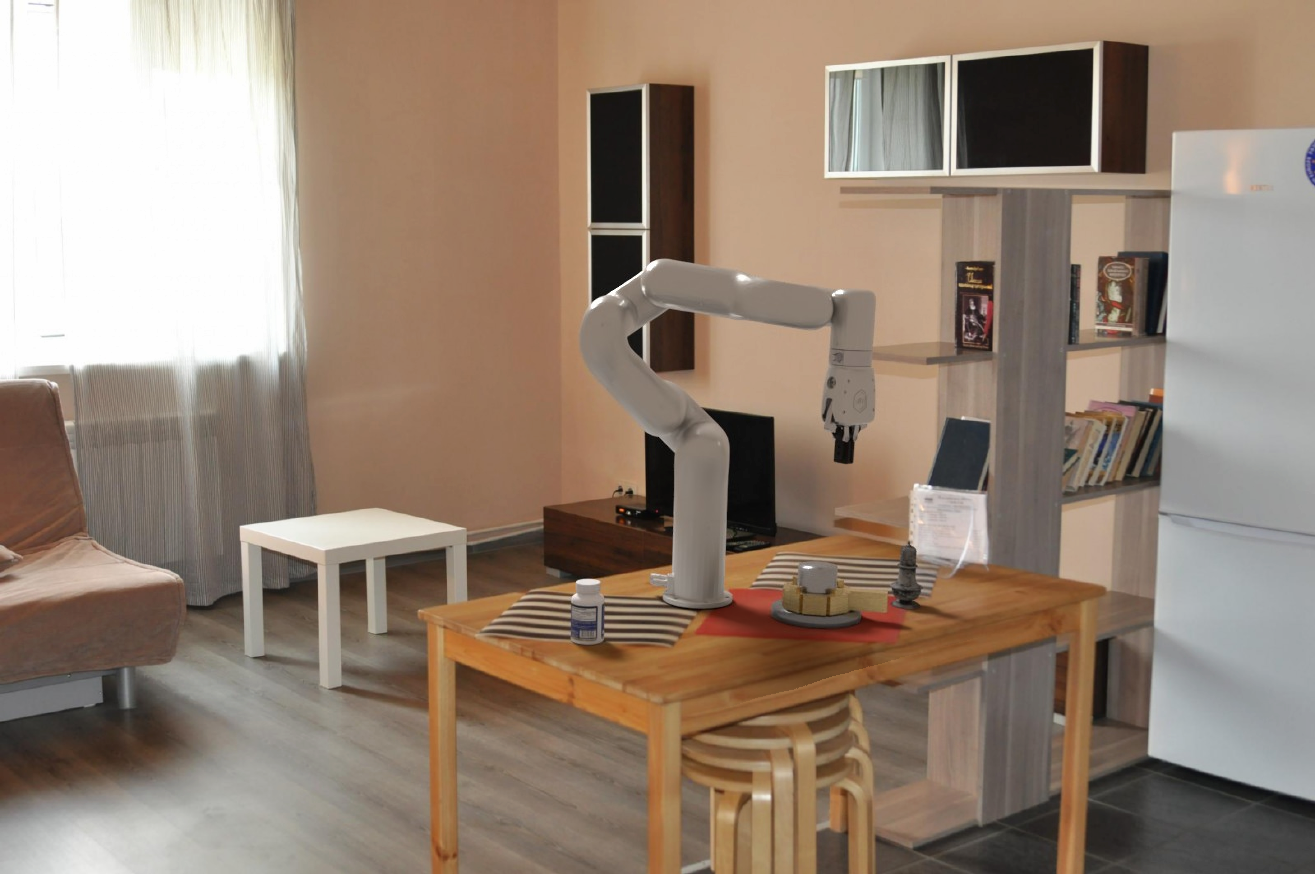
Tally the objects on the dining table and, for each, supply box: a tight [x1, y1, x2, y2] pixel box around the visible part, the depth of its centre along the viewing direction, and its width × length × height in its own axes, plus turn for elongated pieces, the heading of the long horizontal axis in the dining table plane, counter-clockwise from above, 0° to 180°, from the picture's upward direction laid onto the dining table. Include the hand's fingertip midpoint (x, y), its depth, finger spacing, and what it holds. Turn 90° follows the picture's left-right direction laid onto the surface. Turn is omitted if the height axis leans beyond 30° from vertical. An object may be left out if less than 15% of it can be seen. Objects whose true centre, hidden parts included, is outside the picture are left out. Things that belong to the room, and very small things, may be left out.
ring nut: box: [781, 575, 889, 616], centre depth 231 cm, size 18×12×4 cm, turn 80°
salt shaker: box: [889, 540, 924, 610], centre depth 241 cm, size 6×6×12 cm
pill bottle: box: [570, 578, 606, 646], centre depth 213 cm, size 5×5×10 cm
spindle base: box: [770, 560, 862, 630], centre depth 232 cm, size 16×16×9 cm
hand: (843, 462), depth 235 cm, fingers closed
